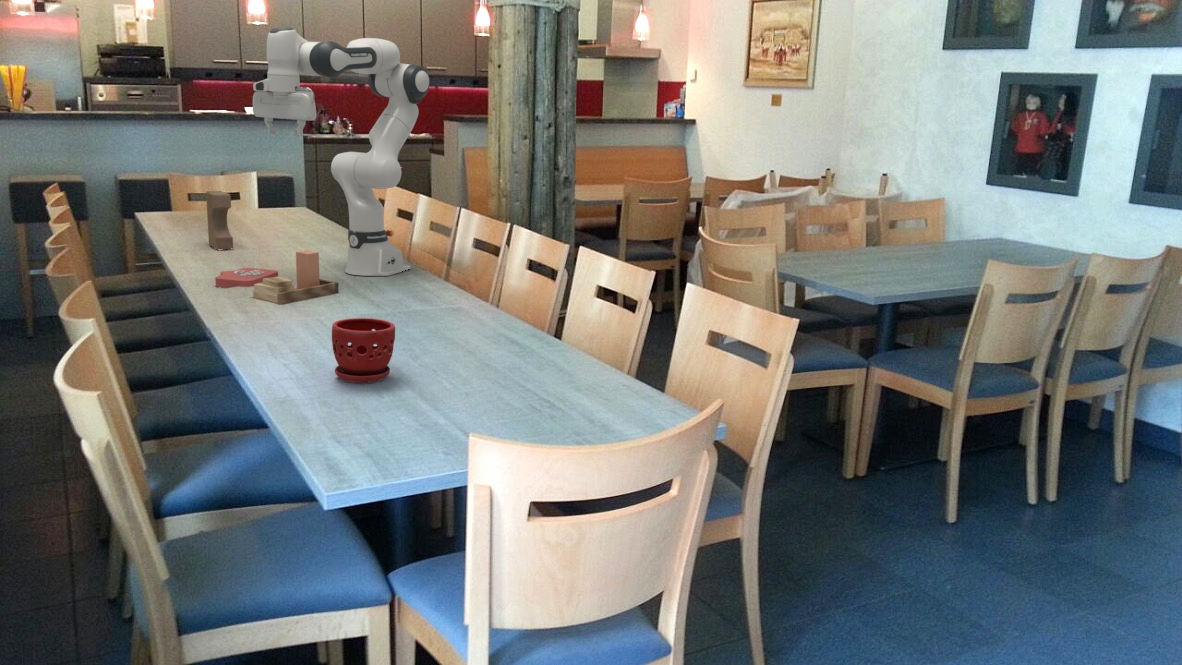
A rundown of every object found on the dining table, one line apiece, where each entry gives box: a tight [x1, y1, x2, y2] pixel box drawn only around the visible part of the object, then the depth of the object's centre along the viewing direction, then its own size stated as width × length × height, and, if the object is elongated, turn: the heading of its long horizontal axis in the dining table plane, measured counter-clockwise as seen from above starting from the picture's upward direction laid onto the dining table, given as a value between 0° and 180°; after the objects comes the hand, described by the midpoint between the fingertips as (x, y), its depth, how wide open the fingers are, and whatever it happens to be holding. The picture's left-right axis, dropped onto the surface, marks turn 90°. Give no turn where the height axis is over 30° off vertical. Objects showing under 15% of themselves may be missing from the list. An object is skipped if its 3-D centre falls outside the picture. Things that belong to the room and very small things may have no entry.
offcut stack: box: [252, 276, 295, 304], centre depth 263 cm, size 7×11×6 cm, turn 57°
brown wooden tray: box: [249, 278, 340, 305], centre depth 269 cm, size 21×13×4 cm, turn 147°
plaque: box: [214, 267, 279, 289], centre depth 286 cm, size 18×4×15 cm
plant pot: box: [331, 317, 396, 384], centre depth 201 cm, size 13×13×12 cm
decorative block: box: [205, 190, 234, 250], centre depth 338 cm, size 11×6×20 cm, turn 36°
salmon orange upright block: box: [295, 249, 320, 289], centre depth 271 cm, size 4×5×12 cm
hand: (285, 134), depth 273 cm, fingers open, 8 cm apart
